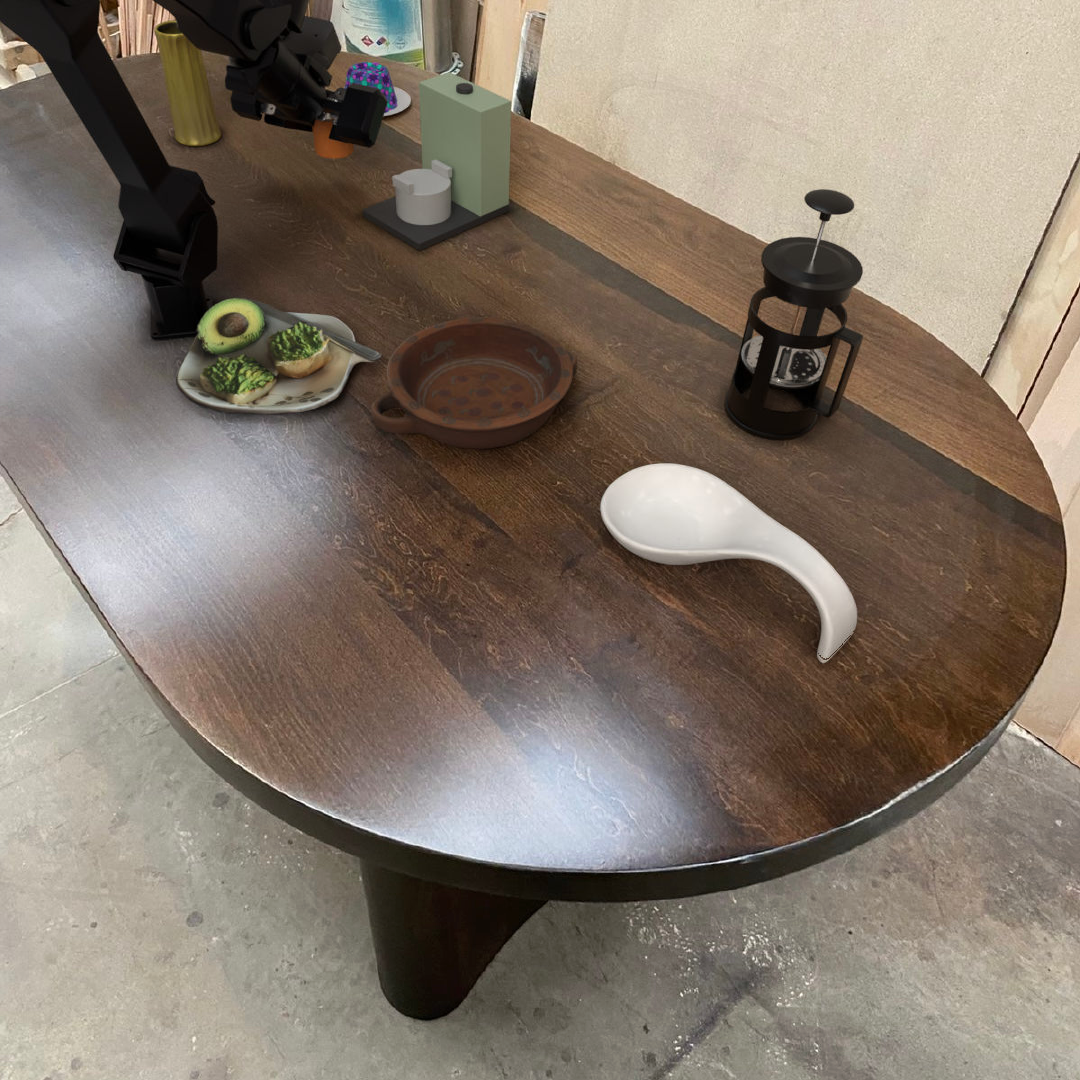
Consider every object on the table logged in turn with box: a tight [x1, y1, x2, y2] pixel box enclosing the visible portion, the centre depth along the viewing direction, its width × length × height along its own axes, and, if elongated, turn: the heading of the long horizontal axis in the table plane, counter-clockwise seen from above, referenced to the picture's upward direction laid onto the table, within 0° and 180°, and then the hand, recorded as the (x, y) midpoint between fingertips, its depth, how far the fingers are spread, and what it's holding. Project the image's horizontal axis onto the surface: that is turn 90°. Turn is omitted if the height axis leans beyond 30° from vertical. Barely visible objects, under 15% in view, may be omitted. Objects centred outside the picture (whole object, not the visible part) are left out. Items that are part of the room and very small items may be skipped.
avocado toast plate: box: [175, 297, 382, 415], centre depth 97 cm, size 19×18×5 cm
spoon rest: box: [599, 462, 858, 664], centre depth 80 cm, size 24×12×7 cm, turn 48°
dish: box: [370, 316, 578, 450], centre depth 94 cm, size 18×22×5 cm
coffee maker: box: [361, 72, 512, 252], centre depth 117 cm, size 15×11×15 cm
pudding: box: [335, 61, 412, 117], centre depth 142 cm, size 12×12×5 cm
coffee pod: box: [312, 112, 355, 160], centre depth 119 cm, size 5×5×5 cm
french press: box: [723, 188, 864, 441], centre depth 89 cm, size 12×9×23 cm
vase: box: [153, 19, 222, 147], centre depth 129 cm, size 6×6×14 cm
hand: (338, 133), depth 121 cm, fingers closed on coffee pod, 5 cm apart
